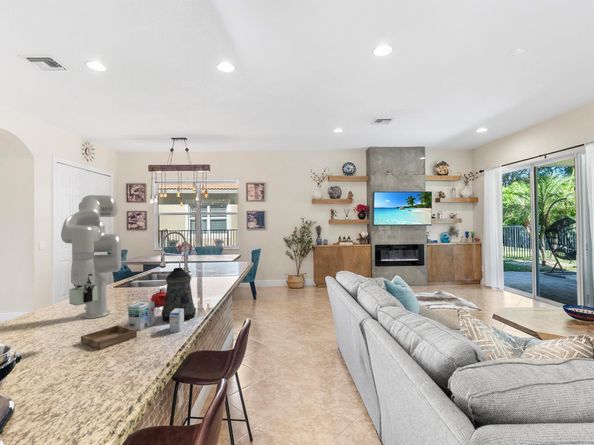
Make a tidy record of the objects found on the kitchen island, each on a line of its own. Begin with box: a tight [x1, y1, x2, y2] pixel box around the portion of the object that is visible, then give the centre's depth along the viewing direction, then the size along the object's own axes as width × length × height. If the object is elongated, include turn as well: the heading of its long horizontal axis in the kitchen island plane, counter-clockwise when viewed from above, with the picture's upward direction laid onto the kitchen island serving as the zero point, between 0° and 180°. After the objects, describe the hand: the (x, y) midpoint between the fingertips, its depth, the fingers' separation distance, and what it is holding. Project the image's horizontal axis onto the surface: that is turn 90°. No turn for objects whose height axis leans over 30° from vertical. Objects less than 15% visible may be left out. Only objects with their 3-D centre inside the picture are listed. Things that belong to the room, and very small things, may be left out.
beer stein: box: [161, 267, 197, 323], centre depth 171 cm, size 16×19×25 cm
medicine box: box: [169, 308, 185, 333], centre depth 153 cm, size 8×4×9 cm, turn 5°
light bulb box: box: [127, 300, 155, 331], centre depth 157 cm, size 11×7×11 cm, turn 168°
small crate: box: [68, 286, 98, 307], centre depth 136 cm, size 6×8×6 cm
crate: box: [80, 324, 138, 351], centre depth 140 cm, size 14×16×3 cm
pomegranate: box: [150, 288, 166, 307], centre depth 196 cm, size 10×10×9 cm
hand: (84, 300), depth 136 cm, fingers closed on small crate, 5 cm apart
